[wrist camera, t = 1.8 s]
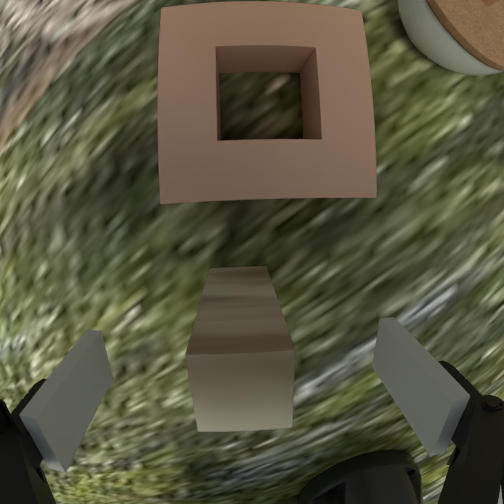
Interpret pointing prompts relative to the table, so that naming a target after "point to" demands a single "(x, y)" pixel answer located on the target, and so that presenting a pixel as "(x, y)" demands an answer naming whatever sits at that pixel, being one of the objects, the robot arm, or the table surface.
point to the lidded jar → (457, 33)
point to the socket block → (264, 60)
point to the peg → (240, 354)
